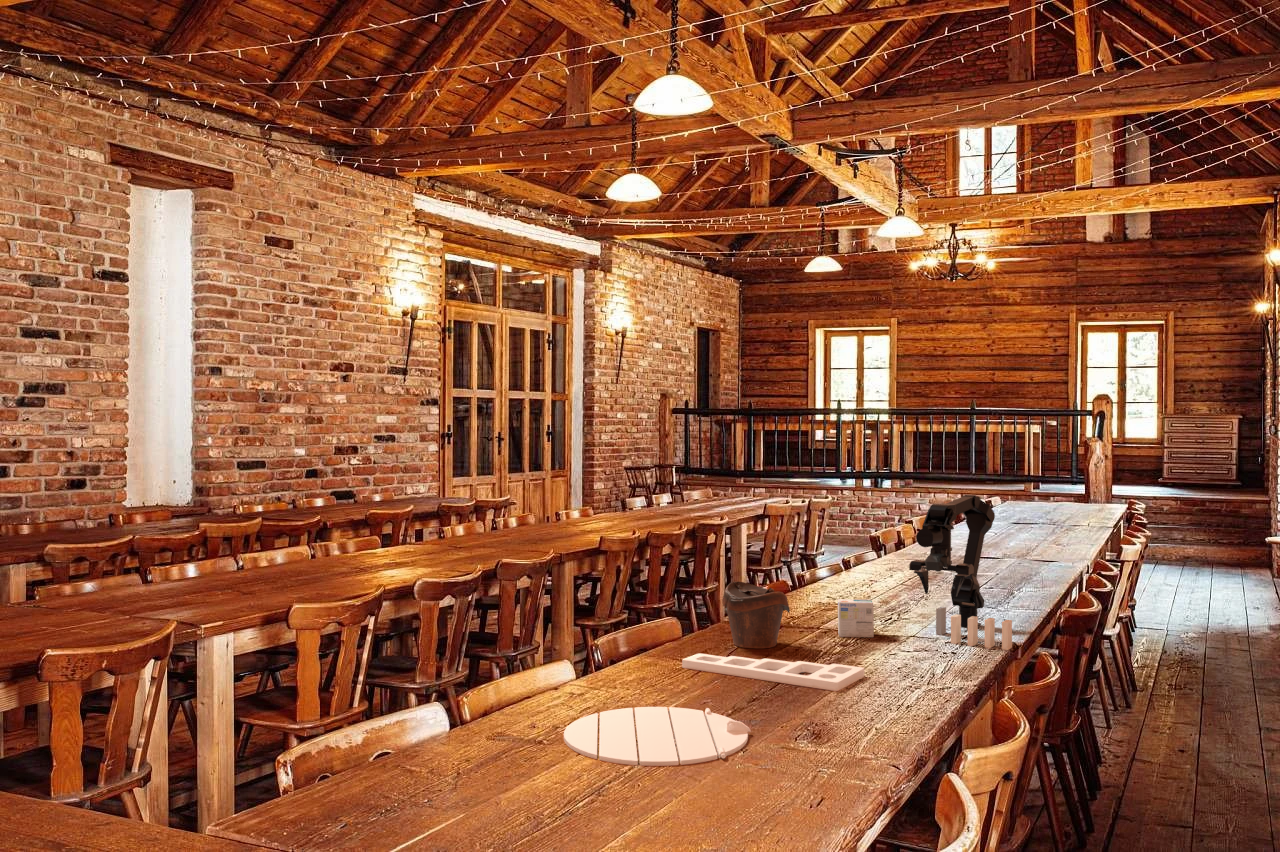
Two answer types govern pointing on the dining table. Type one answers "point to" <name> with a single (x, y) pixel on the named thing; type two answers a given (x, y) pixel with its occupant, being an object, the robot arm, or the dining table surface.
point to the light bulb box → (855, 618)
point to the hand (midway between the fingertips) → (941, 595)
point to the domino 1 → (940, 620)
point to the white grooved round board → (656, 736)
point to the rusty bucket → (754, 614)
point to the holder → (778, 670)
